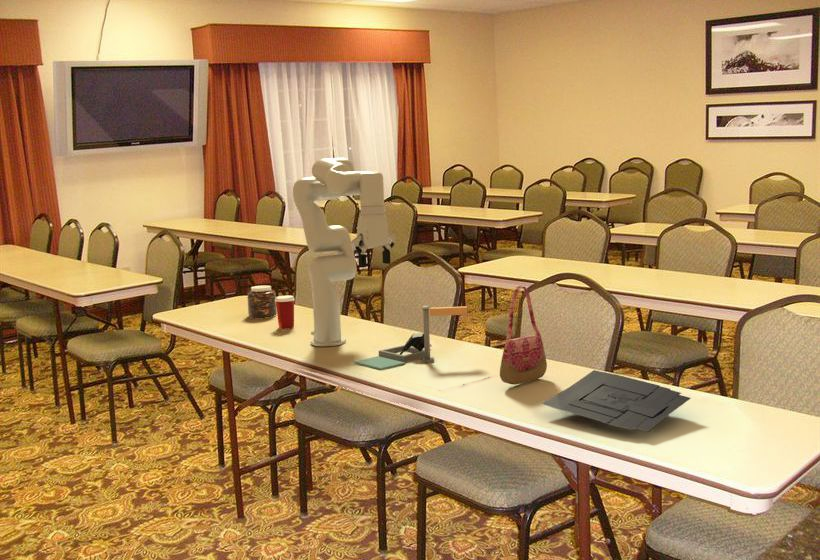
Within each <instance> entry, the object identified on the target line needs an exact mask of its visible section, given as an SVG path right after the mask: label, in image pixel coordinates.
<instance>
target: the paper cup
mask: <svg viewBox="0 0 820 560" xmlns="http://www.w3.org/2000/svg"><path fill="white" fill-rule="evenodd" d="M275 301H276V308H277V315H276V316H277V323H278V329H280V328H283V329H282V330H286V329H285V328H290V329H293V328H294V327H295V297H294V295H279V296H276V300H275ZM292 327H293V328H292Z"/></svg>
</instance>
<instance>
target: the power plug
mask: <svg viewBox="0 0 820 560" xmlns="http://www.w3.org/2000/svg"><path fill="white" fill-rule="evenodd" d="M410 347H414V348H415V349H417V350H419V351H421V350H423V349H424V332H419V333H413V334H412V335H410V337H409V339H408V340H407V341H406V342H405V344H404V347H403V349H402V351H400V353H399V354H400V355H403V354H404V353H406V352H408V351H407V350H408V349H409V348H410ZM431 347H432V344H431V343H430V352H431V351H432V349H431ZM432 348H433V347H432Z"/></svg>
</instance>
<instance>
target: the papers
mask: <svg viewBox="0 0 820 560" xmlns="http://www.w3.org/2000/svg"><path fill="white" fill-rule="evenodd" d="M681 394H682V392H680V391H676V390H672V389H671V388H668V387H666V386H665V387H664V386H661V385H658V384H656V383H651V382H647V381H643V380H639V379H636V378H631V377H627V376H623V375H620V374H615V373H610V372H605V371H600V370H595V369H594V370H592V371H591V372H589V373H587V374H586V375H585V376H583V377H582V378H580V379H579V380H578V381H576V382H574V383H573V384H571V385H570V386H569V387H567V388H566V389H563V390H562V391H560V392H558V393H557V394H555V395H553V396H551V397H550V398H548V399H546V400H545V401H543V402H542V403H541V405H543V406H546V407H550V408H551V409H552V408H553V409H555V410H560V411H565V412H567V413H572V414H575V415H578V416H582V417H584V418H588V419H592V420H595V421H598V422H601V423H604V424H606V425H609V426H613V427H616V428H619V427H620V428H623V429H626V430H630V431H631V430H632V431H633V430H634V429H637V430H639V431H643V432H649V431H650V430H652V429H653V428H654V427H655V426H657V424H659V423H660V422H661V421H663V420H664V419H665V418H667V417H668V416H669V415H670V414H672V413H673V412H674V411H676V410H677V409H679V408H680V407H682V406H683V405H684V404H685V403H687V402H688V401H689V400H691V399H692V397H690V396H685V395H681Z"/></svg>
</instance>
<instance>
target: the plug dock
mask: <svg viewBox="0 0 820 560" xmlns="http://www.w3.org/2000/svg"><path fill="white" fill-rule="evenodd" d="M422 320H423V333H424V348H423V350H421V351H419V350H417V349H415V348H414V347H412V346H411V347H410V348H409V349H408V350H407V351H406V352H410V353H408V354H404V355H403V354H402V355H400V353H398V352H402V349H403V347H404V346H405V344H403V345H399V346H394V347H389V348H384V349H380V350H378V356H379V357H383V358H388V359H392V360H396V361H401V362H405V363H406V362H412V361H414V360H417V359H420V361H421V362H420V363H423V364H430V363H434V362H435V358H432V357H431V351H430V349H431V347H430V344H431V343H430V341H431V340H430V308H429V309H422Z"/></svg>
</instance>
